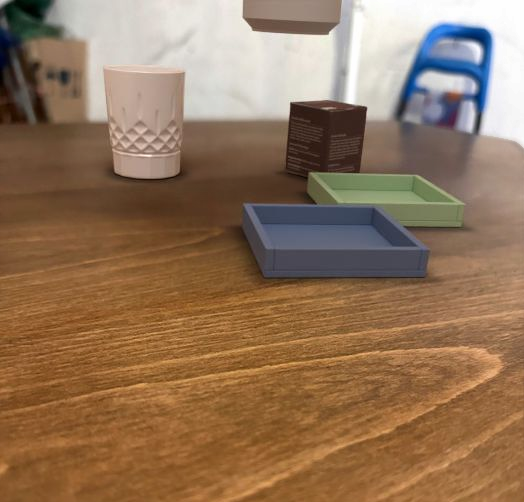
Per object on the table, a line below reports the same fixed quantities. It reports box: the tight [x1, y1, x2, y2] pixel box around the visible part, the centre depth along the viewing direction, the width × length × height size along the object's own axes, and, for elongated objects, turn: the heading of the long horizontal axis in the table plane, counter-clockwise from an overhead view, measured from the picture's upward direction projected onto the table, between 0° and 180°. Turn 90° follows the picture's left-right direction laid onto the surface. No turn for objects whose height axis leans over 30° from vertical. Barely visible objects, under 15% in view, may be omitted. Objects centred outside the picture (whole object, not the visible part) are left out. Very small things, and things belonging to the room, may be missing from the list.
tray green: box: [306, 172, 466, 228], centre depth 61 cm, size 11×11×2 cm
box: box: [284, 99, 368, 178], centre depth 72 cm, size 6×6×7 cm
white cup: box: [102, 64, 186, 180], centre depth 67 cm, size 8×8×10 cm
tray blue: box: [241, 202, 431, 279], centre depth 49 cm, size 11×11×2 cm
